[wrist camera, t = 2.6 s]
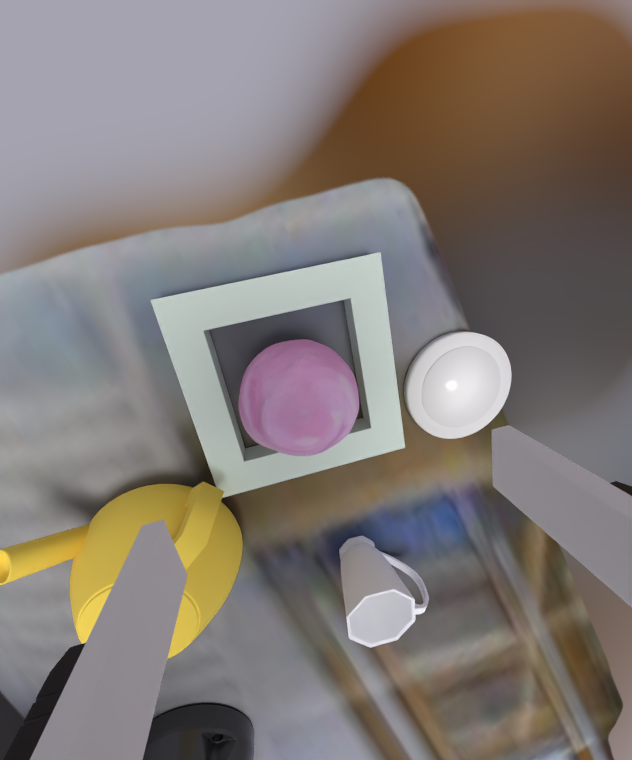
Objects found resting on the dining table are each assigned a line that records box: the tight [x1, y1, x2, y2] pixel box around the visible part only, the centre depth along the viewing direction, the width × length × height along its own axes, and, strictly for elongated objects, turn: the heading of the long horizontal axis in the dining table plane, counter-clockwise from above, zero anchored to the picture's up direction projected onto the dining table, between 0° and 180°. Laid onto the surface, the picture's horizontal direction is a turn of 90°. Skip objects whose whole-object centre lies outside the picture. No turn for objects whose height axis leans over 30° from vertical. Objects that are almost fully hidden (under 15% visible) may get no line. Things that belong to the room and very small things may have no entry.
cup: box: [339, 535, 429, 647], centre depth 34 cm, size 7×10×8 cm
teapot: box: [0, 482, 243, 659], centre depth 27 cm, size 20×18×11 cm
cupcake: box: [239, 339, 359, 456], centre depth 25 cm, size 9×9×10 cm
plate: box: [404, 331, 511, 439], centre depth 33 cm, size 11×11×1 cm
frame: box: [151, 252, 405, 498], centre depth 29 cm, size 18×18×2 cm
